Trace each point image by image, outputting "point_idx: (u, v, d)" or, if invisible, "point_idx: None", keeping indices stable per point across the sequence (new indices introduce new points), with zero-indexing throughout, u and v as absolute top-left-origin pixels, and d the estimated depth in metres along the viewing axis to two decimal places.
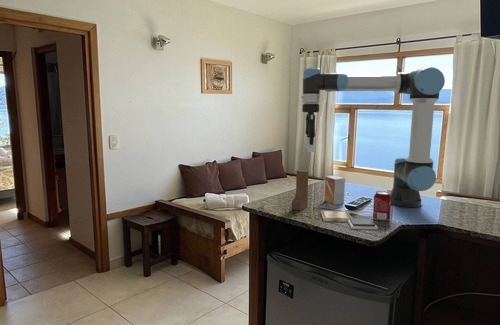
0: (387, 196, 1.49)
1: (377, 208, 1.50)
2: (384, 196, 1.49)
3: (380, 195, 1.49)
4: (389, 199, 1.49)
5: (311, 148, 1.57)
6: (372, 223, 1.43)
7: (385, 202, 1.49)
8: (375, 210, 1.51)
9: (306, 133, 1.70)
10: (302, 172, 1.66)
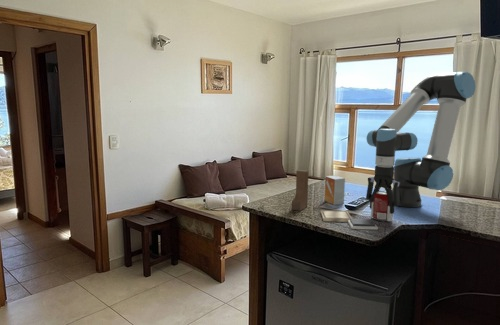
0: None
1: (377, 208, 1.50)
2: (384, 196, 1.49)
3: (380, 195, 1.49)
4: None
5: (390, 216, 1.50)
6: (372, 223, 1.43)
7: (385, 202, 1.49)
8: (375, 210, 1.51)
9: (372, 200, 1.54)
10: (302, 172, 1.66)
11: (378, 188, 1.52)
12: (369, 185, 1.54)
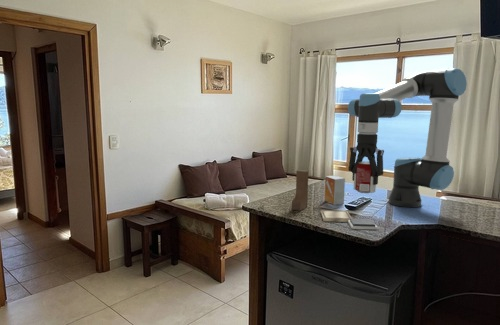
0: (370, 166, 1.38)
1: (360, 179, 1.40)
2: (367, 166, 1.38)
3: (363, 165, 1.39)
4: None
5: (374, 188, 1.40)
6: (372, 223, 1.43)
7: (367, 172, 1.38)
8: (357, 181, 1.41)
9: (355, 171, 1.44)
10: (302, 172, 1.66)
11: (361, 158, 1.42)
12: (351, 155, 1.44)
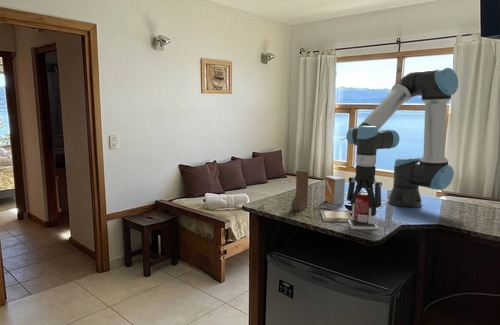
0: (368, 197, 1.40)
1: (358, 209, 1.42)
2: (365, 197, 1.40)
3: (361, 196, 1.41)
4: None
5: (372, 219, 1.42)
6: (372, 223, 1.43)
7: (366, 203, 1.40)
8: (356, 212, 1.43)
9: (353, 201, 1.46)
10: (302, 172, 1.66)
11: (359, 189, 1.44)
12: (350, 185, 1.46)
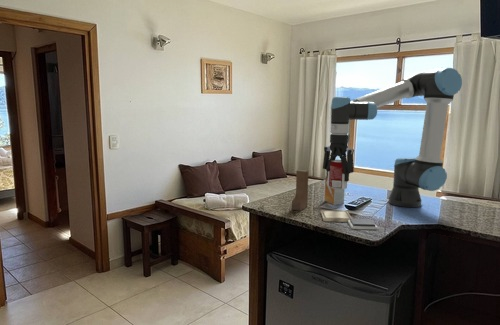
0: (341, 164, 1.50)
1: (332, 176, 1.51)
2: (338, 164, 1.49)
3: (335, 163, 1.50)
4: None
5: (345, 184, 1.51)
6: (372, 223, 1.43)
7: (339, 169, 1.49)
8: (330, 178, 1.52)
9: (328, 169, 1.55)
10: (302, 172, 1.66)
11: (334, 157, 1.53)
12: (325, 154, 1.55)
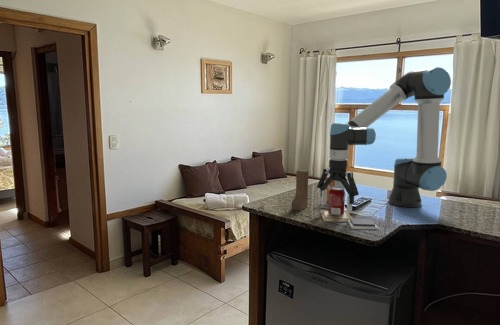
0: (340, 191, 1.52)
1: (331, 203, 1.53)
2: (337, 191, 1.51)
3: (334, 190, 1.52)
4: (342, 194, 1.52)
5: (350, 207, 1.50)
6: (372, 223, 1.43)
7: (338, 197, 1.51)
8: (329, 205, 1.54)
9: (322, 189, 1.59)
10: (302, 172, 1.66)
11: (330, 180, 1.56)
12: (323, 176, 1.58)
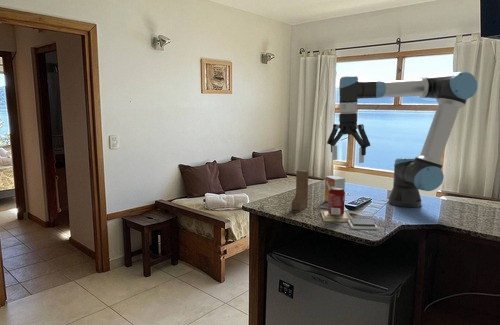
0: (340, 191, 1.52)
1: (331, 203, 1.53)
2: (337, 191, 1.51)
3: (334, 190, 1.52)
4: (342, 194, 1.52)
5: (362, 159, 1.52)
6: (372, 223, 1.43)
7: (338, 197, 1.51)
8: (329, 205, 1.54)
9: (332, 144, 1.61)
10: (302, 172, 1.66)
11: (341, 134, 1.58)
12: (333, 131, 1.60)
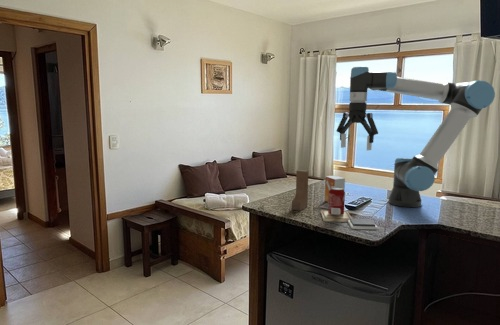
0: (340, 191, 1.52)
1: (331, 203, 1.53)
2: (337, 191, 1.51)
3: (334, 190, 1.52)
4: (342, 194, 1.52)
5: (370, 146, 1.59)
6: (372, 223, 1.43)
7: (338, 197, 1.51)
8: (329, 205, 1.54)
9: (342, 132, 1.68)
10: (302, 172, 1.66)
11: (350, 123, 1.64)
12: (342, 119, 1.66)
